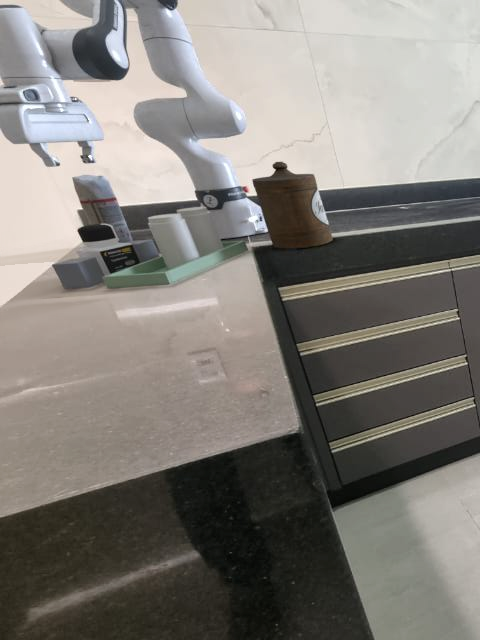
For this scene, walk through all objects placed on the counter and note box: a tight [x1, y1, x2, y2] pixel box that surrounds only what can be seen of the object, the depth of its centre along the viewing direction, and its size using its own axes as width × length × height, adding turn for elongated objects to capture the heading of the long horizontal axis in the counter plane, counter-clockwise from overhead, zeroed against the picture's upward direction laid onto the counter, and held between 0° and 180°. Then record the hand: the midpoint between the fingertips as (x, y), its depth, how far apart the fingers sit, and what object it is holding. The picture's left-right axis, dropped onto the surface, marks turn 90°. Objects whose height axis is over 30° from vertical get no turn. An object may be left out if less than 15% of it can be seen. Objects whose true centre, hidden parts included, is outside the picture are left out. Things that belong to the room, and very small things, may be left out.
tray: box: [102, 240, 249, 289], centre depth 128 cm, size 32×13×3 cm, turn 7°
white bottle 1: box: [147, 213, 200, 270], centre depth 126 cm, size 7×7×12 cm
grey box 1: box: [51, 257, 105, 290], centre depth 116 cm, size 5×5×6 cm
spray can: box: [71, 174, 134, 243], centre depth 158 cm, size 8×8×20 cm
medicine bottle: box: [75, 224, 140, 276], centre depth 123 cm, size 7×7×12 cm
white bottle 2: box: [176, 206, 224, 257], centre depth 135 cm, size 7×7×12 cm
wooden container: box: [251, 161, 334, 250], centre depth 145 cm, size 15×15×22 cm
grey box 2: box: [126, 239, 161, 263], centre depth 132 cm, size 5×5×6 cm
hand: (72, 164), depth 116 cm, fingers open, 8 cm apart
